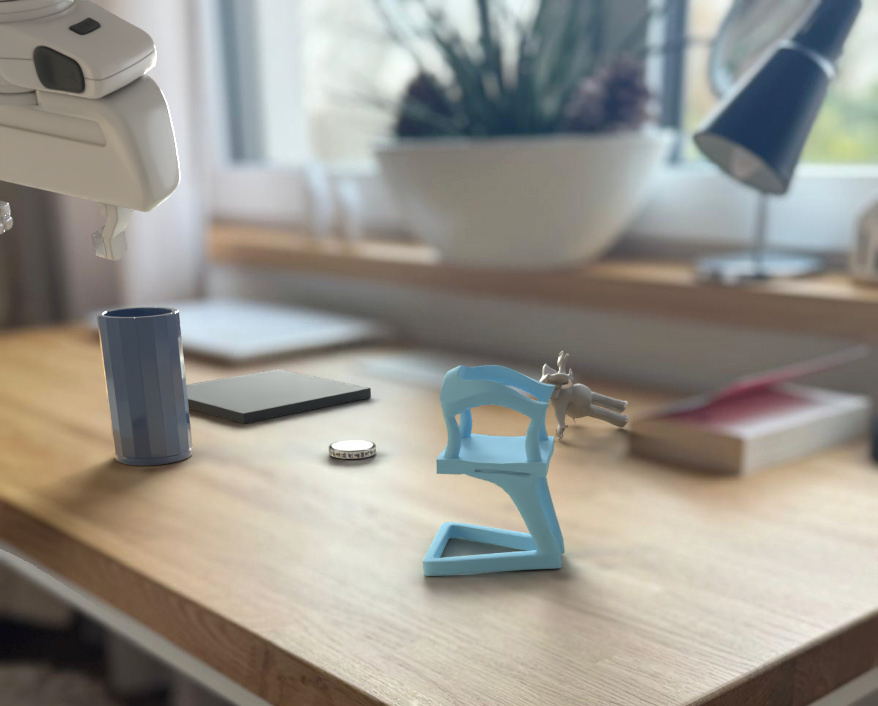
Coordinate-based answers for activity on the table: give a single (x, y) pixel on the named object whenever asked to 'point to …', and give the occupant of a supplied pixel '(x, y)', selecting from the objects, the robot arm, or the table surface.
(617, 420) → the grey figurine
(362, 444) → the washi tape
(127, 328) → the cup
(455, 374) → the chair
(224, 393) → the mat
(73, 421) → the table surface
